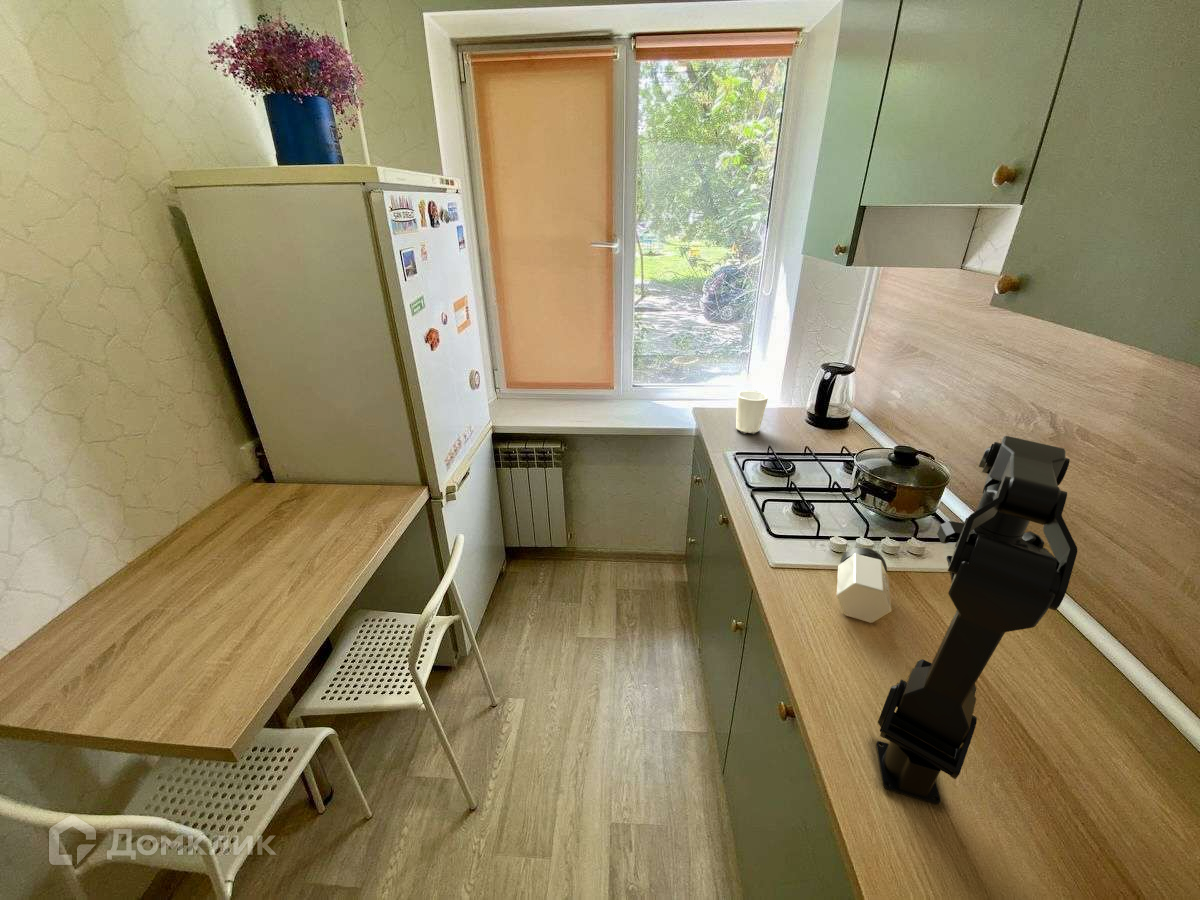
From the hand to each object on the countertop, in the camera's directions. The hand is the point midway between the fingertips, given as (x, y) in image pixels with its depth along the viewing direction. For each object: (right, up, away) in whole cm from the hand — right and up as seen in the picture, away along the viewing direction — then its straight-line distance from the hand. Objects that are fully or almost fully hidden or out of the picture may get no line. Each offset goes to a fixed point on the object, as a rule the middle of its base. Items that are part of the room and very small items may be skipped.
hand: (960, 609), depth 74 cm
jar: (-8, -3, +13) cm, 16 cm away
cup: (-5, +31, +92) cm, 97 cm away
